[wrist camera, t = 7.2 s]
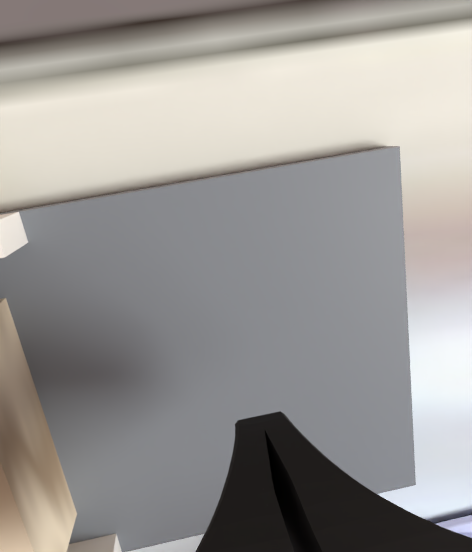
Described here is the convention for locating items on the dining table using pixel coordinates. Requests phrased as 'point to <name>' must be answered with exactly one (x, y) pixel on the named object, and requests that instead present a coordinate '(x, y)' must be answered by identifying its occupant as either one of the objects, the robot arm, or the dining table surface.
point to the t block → (28, 459)
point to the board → (216, 334)
